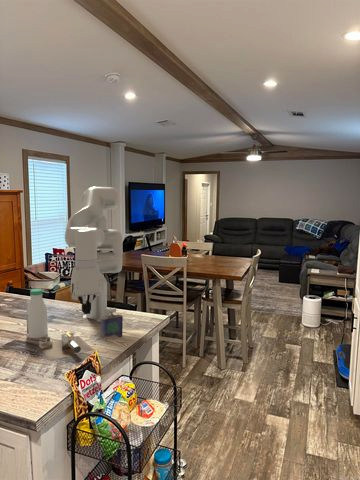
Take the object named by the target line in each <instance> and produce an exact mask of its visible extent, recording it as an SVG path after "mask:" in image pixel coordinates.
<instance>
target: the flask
mask: <svg viewBox="0 0 360 480" xmlns="http://www.w3.org/2000/svg"><path fill="white" fill-rule="evenodd" d="M113 313H114V312H113ZM113 313H112V312H110V315H109V317H104V318H101V322H100V337H102V338H105V337H109V336H116V337H118V338H122V337H123V321H124V319H123V315H122V314H113Z"/></svg>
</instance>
